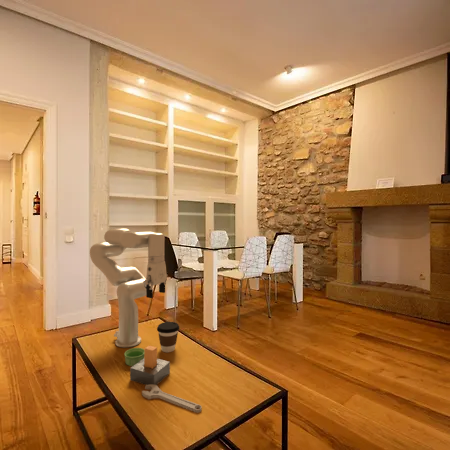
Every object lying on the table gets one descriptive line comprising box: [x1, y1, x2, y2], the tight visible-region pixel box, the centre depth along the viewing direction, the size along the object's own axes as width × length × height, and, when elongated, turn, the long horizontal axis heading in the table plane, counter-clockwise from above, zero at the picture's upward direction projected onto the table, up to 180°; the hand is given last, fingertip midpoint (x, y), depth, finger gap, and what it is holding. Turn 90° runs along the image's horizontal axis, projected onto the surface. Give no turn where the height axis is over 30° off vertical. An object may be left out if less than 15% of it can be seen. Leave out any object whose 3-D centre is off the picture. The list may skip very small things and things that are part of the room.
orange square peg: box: [143, 345, 158, 369], centre depth 117 cm, size 3×4×12 cm
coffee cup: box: [156, 321, 180, 353], centre depth 141 cm, size 11×11×12 cm
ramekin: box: [123, 347, 145, 367], centre depth 129 cm, size 9×9×4 cm
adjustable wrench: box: [141, 384, 203, 414], centre depth 102 cm, size 25×6×2 cm, turn 59°
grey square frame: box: [129, 358, 171, 386], centre depth 117 cm, size 12×11×5 cm
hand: (156, 295), depth 136 cm, fingers open, 9 cm apart
